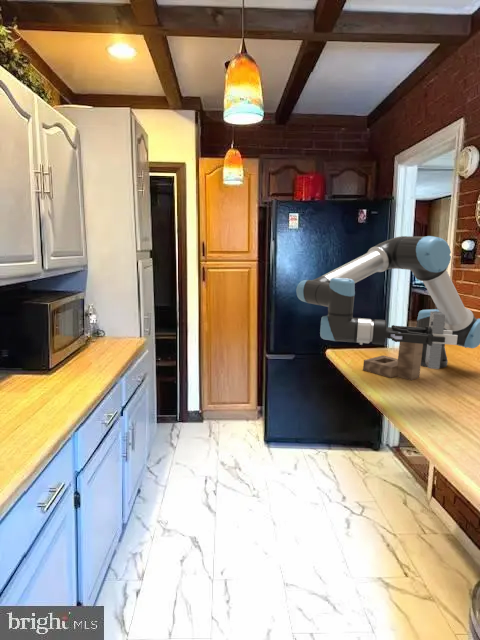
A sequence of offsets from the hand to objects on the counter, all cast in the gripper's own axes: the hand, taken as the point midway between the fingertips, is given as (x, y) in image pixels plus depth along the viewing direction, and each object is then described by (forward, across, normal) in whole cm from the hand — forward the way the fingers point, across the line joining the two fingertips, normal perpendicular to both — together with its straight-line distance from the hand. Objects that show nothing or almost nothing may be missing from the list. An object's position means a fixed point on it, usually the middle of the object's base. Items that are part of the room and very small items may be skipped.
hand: (454, 337), depth 128 cm
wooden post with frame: (-12, -36, -23) cm, 44 cm away
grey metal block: (-5, 0, -9) cm, 10 cm away
